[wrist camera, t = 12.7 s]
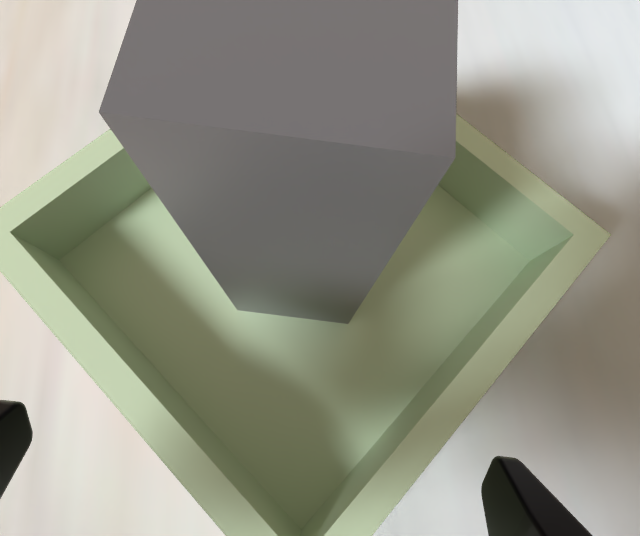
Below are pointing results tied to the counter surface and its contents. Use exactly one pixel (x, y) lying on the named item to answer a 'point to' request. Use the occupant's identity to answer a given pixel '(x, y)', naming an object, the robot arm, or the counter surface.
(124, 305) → the pale green tray
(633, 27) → the counter surface
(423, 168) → the grey square pillar
